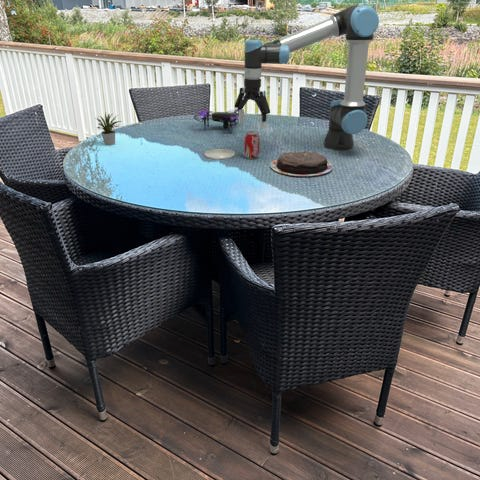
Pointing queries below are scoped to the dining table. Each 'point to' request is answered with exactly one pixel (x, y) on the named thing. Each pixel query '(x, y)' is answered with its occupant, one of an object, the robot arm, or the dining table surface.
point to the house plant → (108, 129)
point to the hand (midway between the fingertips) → (251, 126)
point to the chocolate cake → (301, 164)
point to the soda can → (251, 145)
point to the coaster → (219, 154)
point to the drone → (219, 118)
